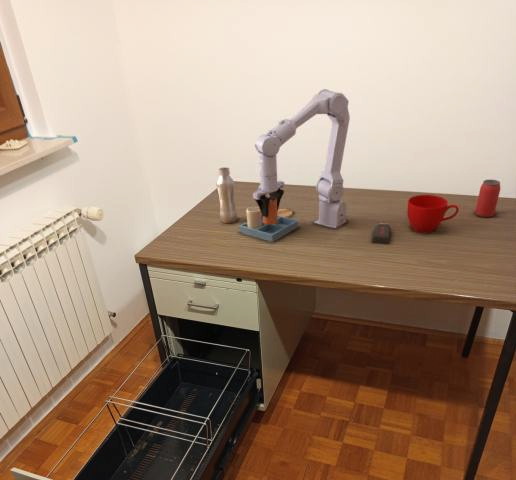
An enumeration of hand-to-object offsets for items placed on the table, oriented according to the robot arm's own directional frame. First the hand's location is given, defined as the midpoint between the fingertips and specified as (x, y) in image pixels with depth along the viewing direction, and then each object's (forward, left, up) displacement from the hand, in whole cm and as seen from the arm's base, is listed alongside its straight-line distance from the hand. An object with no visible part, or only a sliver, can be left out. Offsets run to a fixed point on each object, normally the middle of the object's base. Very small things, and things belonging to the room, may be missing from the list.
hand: (270, 213), depth 170 cm
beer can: (-54, -58, -9) cm, 80 cm away
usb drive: (-32, -21, -9) cm, 40 cm away
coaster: (+10, -18, -8) cm, 22 cm away
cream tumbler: (+7, 0, -8) cm, 11 cm away
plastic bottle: (+22, -1, -9) cm, 23 cm away
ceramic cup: (-43, -35, -9) cm, 57 cm away
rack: (+4, -3, -8) cm, 10 cm away
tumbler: (0, 0, -3) cm, 3 cm away
